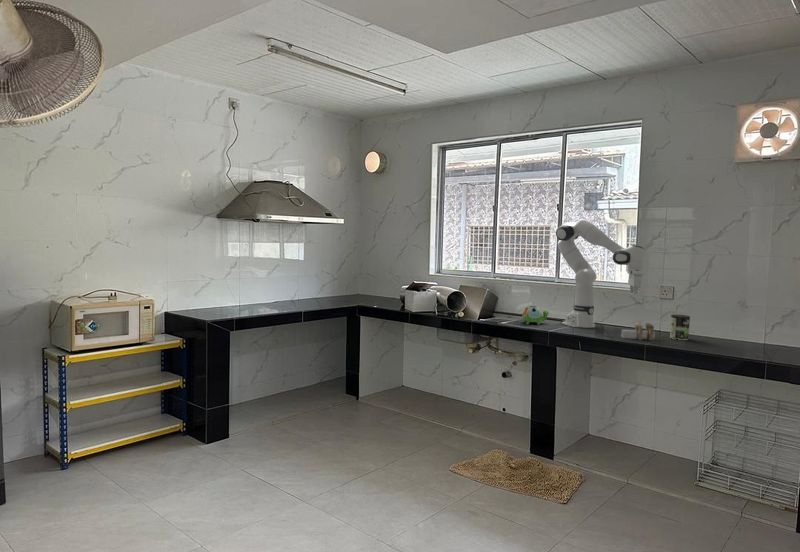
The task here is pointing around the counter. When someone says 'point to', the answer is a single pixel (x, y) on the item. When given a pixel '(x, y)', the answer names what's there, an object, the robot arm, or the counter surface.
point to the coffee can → (679, 327)
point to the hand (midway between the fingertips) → (633, 293)
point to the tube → (635, 334)
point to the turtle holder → (534, 315)
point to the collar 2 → (650, 330)
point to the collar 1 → (640, 328)
